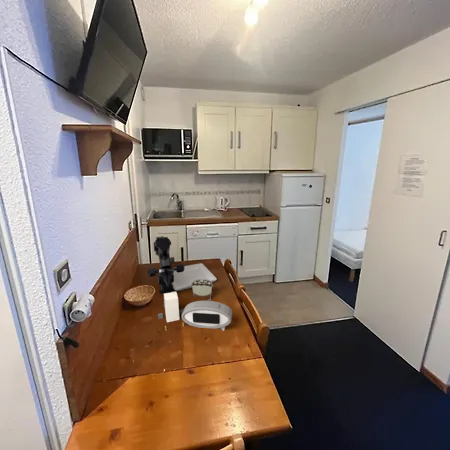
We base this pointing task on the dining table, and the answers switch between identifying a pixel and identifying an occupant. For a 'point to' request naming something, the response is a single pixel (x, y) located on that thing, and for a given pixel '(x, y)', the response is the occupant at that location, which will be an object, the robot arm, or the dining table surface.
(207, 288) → the food container
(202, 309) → the alarm clock
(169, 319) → the block
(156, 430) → the dining table surface
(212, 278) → the square plate
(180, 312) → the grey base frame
